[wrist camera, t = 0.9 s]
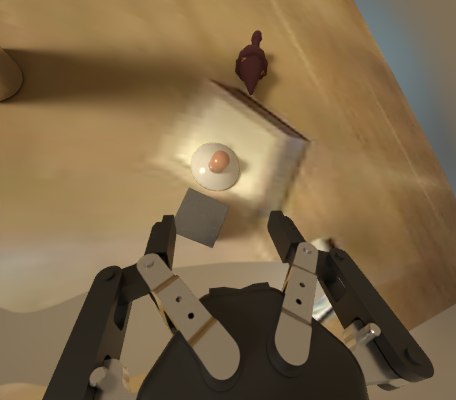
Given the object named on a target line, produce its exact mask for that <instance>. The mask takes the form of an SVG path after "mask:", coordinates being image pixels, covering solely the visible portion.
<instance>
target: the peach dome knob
mask: <svg viewBox="0 0 456 400" xmlns="http://www.w3.org/2000/svg"><path fill="white" fill-rule="evenodd" d="M229 162H230V158H229V155H228V154H227V153H226V152H225V151H221V150H219V151H216V152H215V153H214V155H213V156H212V158H211V160H210V162H209V164H208V166H209V169H210V171H211V172H213V173H215V174H219V173H221V172H222V171H223V170H224V169H225V168H226V167H227V165H228V164H229Z"/></svg>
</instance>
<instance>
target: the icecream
mask: <svg viewBox="0 0 456 400" xmlns="http://www.w3.org/2000/svg"><path fill="white" fill-rule="evenodd" d="M261 40H262V36H261V32H260V31H255V32H254V33H253V35H252V39H251V41H252V45H248V46H246V47H245V48H244V49H243V50H242V51H241V52H240V54H239V57H238V59H237V60H236V68H235V72H236V74H237V75H238V76H239V77H240V79H241V80H242V81H244V82H245V85H246V87H247V89H248V92H249V94H250V95H252V94H253V92H254V89H255V87H256V85H257V82H258V80H260V79H262V78H263V77H264V76H266V74H267V66H268V62H267V60H266V58H265V54H264V51H263V50H262V49H261V48H260V47H259V44H260V41H261Z"/></svg>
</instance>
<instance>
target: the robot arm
mask: <svg viewBox="0 0 456 400" xmlns="http://www.w3.org/2000/svg"><path fill="white" fill-rule="evenodd" d="M22 81H23V78H22V72H21V70H20V68H19V67H18V65H17V64H16V63H15V62H14V61H13V60H12V58H11V57H10V56H9V55H8V54H7V53H6V52H5V51H4V50H3V49H2V48H1V47H0V101H2V100H5V99H7V98H9V97H11V96H13V95H14V94H15V93H16V92H17V91H18V90H19V89H20V87H21V85H22ZM267 228H268V232H269V234H270V236H271V238H272V240H273V243H274V245H275V247H276V249H277V251H278V254H279V256H280V258H281V260H282V262H283V263H289V265H290V266H289V268H288V271H287V274H286V278H285V282H284V284H283V288H282V290H281V291H280V290H278V289H276V288H272V287H270V286H269V284H268V282H265V283H257V284H252V285H250V286H248V287H245V288H242V289H235V288H227V287H219V288H211V289H209V294H206V295H204V296H203V297H201V298H200V299H199V300H198V299H197V297H196V296H195V295H194V294H193V293H192V291H191V290H190V289H189V288H188V287H187V285H186V284H185V283H184V282H183V281H182V279H181V278H180V277H179V276H178V275H176V276H175V275H174V274H173V273H172V264H173V256H174V249H175V241H176V226H175V219H174V215H164V216H163V219H162V222H156V223H155V225H154V226H153V227H152V230H151V234H150V238H149V240H148V244H147V247H146V251H145V254H144V256H143V257H142V258H140V260H139V261H138V263H136V264H134V265H132V266H129V267H126V268H123V269H121V268H120V267H118V266H109V267H107V268H105V269H103V270H101V271H100V272H99V273H98V274H97V275H96V277H95V279H94V281H93V284H92V286H91V288H90V291H89V293H88V295H87V297H86V300H85V302H84V304H83V307H82V309H81V312H80V314H79V316H78V319H77V321H76V323H75V325H74V327H73V330H72V332H71V335H70V337H69V339H68V341H67V344H66V346H65V348H64V351H63V353H62V355H61V358H60V360H59V362H58V365H57V367H56V369H55V372H54V374H53V376H52V378H51V381H50V383H49V385H48V388H47V390H46V392H45V395H44V397H43V399H42V400H369V397H368V393H367V387H366V386H369V385H377V386H379V387H380V388H382V389H384V390H387V391H391V390H394V389H397V388H400V387H403V386H406V385H409V384H413V383H415V382H419V381H422V380H424V379H428V378H430V377H432V376H433V374H434V369H433V365H432V363H431V361H430V359H429V358H428V357H427V355H426V354H425V353H424V351H423V350H422V349H421V347H419V345H418V344H417V342H416V341H415V340H414V338H413V337H412V336H411V335H410V333H409V332H408V331H407V329H406V328H405V327H404V326H403V324H402V323H401V322H400V320H399V319H398V318H397V316H396V315H395V314H394V313H393V311H392V310H391V309H390V307H389V306H388V305H387V304H386V302H385V301H384V300H383V298H382V297H381V296H380V295H379V293H378V292H377V291H376V289H375V288H374V287H373V286H372V284H371V283H370V282H369V280H368V279H367V278H366V277H365V275H364V274H363V273H362V271H361V270H360V269H359V268H358V266H357V265H356V264H355V262H354V261H353V260H352V259H351V257H350V256H349V255H348V254H347V253H346V252H345V251H343V250H341V249H338V248H332V249H330V251H329V252H325V251H320V250H317V249H316V247H315V246H313V245H312V244H310V243H307V242H306V241H305V239H304V238H303V236H302V235H301V233H300V232H299V230H298V229H297V227H296V226H295V224H294V223H293V221H292V220H291V219H290V218H289V217H287V216H284V215H283V213H282V211H280V210H279V211H271V213H270V217H269V221H268V225H267ZM339 278H340V279H339ZM317 279H318V281H319V282H320V285H321V286H322V288H323V290H324V292H325V294H326V296H327V298H328V300H329V302H330V303H331V305H332V307H333V309H334V311H335V313H336V315H337V317H338V319H339V320H340V322H341V324H342V326H343V328H344V332H343V337H344V340H345V344H344V343H343V342H341V341H340V340H339V339H338V338H337V337H335V336H334V335H333V334H332V333H331V332H330V331H328V330H327V329H326V328H325V327H324V326H323V325H321V324H320V323H319V322H318V321H317V320H315V319H314V318H313V317H312V311H313V304H314V297H315V289H316V281H317ZM340 280H341V281H340ZM342 283H343V284H342ZM344 286H345V287H344ZM147 294H148V295H149V297H150V298H151V300H152V302H153V303H154V305H155V306H156V308H157V309H158V311H159V313H160V315H161V316H162V318H163V320H164V322H165V324H166V326H167V327H168V329H169V330H170V332H171V334H172V335H173V337H172V338H171V340H170V341H169V343H168V344H167V346H166V347H165V349H164V350H163V352H162V353H161V355H160V356H159V358H158V360H157V361H156V362H155V364H154V366H153V367H152V369H151V370H150V372H149V373H148V375H147V376H146V378H145V379H144V381H143V383H142V385H141V387H140V389H139V392H138V393H131V391H130V388H129V372H128V370H127V368H126V367H125V366H124V365H123V364H122V363H121V362H120V361H119V359H120V355H121V351H122V346H123V341H124V337H125V333H126V328H127V324H128V319H129V315H130V310H131V306H132V301H133V300H135V299H138V298H140V297H142V296H145V295H147Z"/></svg>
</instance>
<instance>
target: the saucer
mask: <svg viewBox="0 0 456 400" xmlns="http://www.w3.org/2000/svg"><path fill="white" fill-rule="evenodd" d="M219 150H221V151H225V152H226V153H227V154H228V155H229V158H230V162H229V164H228V165H227V167H226V168H225V169H224V170H223V171H222V172H221V173H219V174H215V173H213V172H211V171H210V169H209V166H208V164H209V162H210V160H211V158H212V156H213V155H214V153H215V152H216V151H219ZM191 171H192V174H193V176H194V178H195V180H196V181H197V182H198V183H199V184H200V185H201V186H203V187H204V188H206V189H208V190H212V191H221V190H225V189H227V188H229V187H230V186H231V185H233V184H234V183H235V181H236V180H237V178H238V175H239V163H238V160H237V157H236V156H235V154H234V153H233V152H232V151H231V150H230V149H229V148H228V147H226V146H224V145H222V144H219V143H207V144H204V145H202V146H200V147H199V148H198V149H197V150H196V151H195V153H194V154H193V156H192V160H191Z"/></svg>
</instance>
